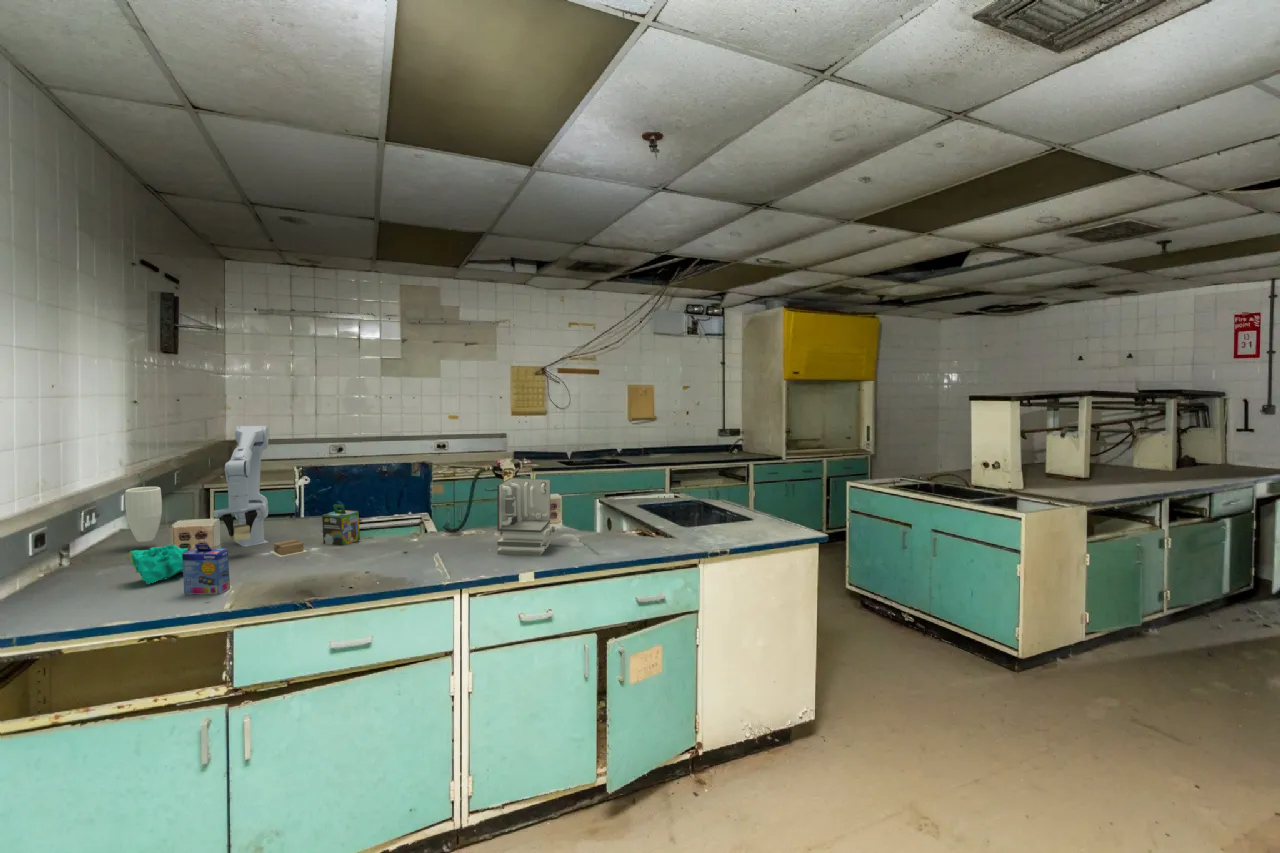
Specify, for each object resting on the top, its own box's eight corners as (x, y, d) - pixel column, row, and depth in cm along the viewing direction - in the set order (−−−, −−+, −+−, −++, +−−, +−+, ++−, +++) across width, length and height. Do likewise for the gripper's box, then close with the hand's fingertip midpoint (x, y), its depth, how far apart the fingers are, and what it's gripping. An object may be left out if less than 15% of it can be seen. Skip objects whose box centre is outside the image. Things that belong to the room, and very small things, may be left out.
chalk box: (360, 540, 229) (359, 502, 228) (342, 547, 220) (341, 507, 219) (340, 538, 232) (339, 500, 230) (322, 544, 223) (321, 505, 222)
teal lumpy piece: (141, 551, 188) (186, 530, 192) (160, 584, 188) (204, 562, 192) (113, 556, 174) (161, 533, 177) (133, 592, 174) (181, 568, 177)
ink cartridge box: (182, 595, 170) (180, 545, 169) (195, 588, 175) (193, 540, 174) (219, 595, 171) (217, 545, 170) (230, 588, 176) (228, 540, 175)
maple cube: (230, 538, 205) (229, 525, 204) (245, 536, 208) (244, 523, 208) (235, 541, 202) (234, 528, 202) (250, 538, 206) (249, 525, 205)
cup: (169, 543, 221) (166, 485, 220) (156, 551, 212) (154, 490, 210) (135, 545, 218) (132, 486, 216) (121, 553, 208) (117, 492, 207)
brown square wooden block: (274, 551, 212) (273, 543, 211) (295, 547, 217) (295, 539, 217) (282, 555, 207) (281, 547, 207) (303, 551, 213) (303, 542, 212)
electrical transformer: (509, 542, 230) (509, 478, 228) (558, 544, 229) (559, 479, 227) (497, 554, 215) (497, 485, 213) (550, 556, 213) (550, 486, 211)
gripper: (217, 499, 196) (219, 540, 197) (266, 493, 207) (268, 532, 208) (210, 496, 200) (212, 536, 201) (258, 491, 212) (260, 528, 213)
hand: (239, 534), depth 205 cm, fingers closed on maple cube, 4 cm apart
